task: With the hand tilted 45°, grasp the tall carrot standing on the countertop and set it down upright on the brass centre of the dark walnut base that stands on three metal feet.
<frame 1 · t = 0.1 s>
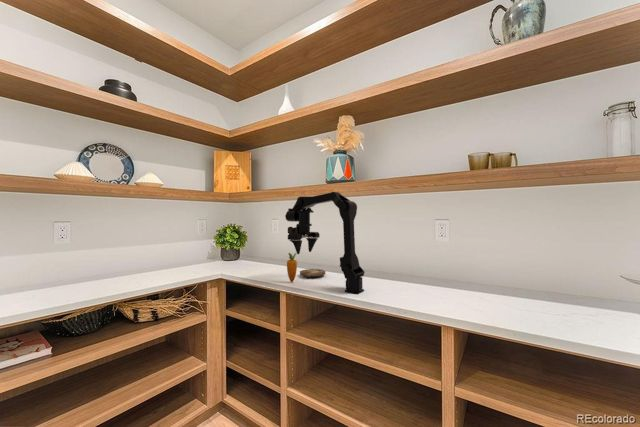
hand: (304, 253, 133), 15 cm above the worktop, tool pointing down, fingers open, 9 cm apart
carrot: (291, 283, 133), on the worktop
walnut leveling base: (312, 276, 147), on the worktop
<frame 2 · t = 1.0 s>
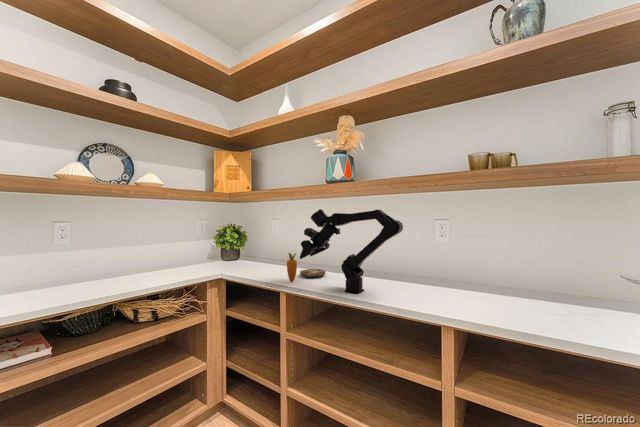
hand: (305, 256, 129), 13 cm above the worktop, tool tilted 45°, fingers open, 9 cm apart
nothing on the worktop moved.
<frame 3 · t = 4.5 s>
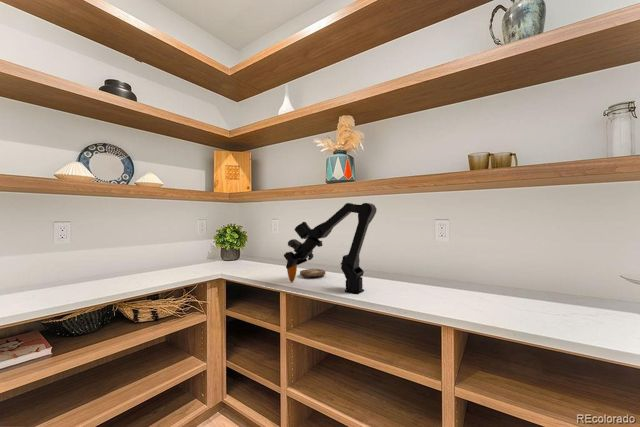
hand: (289, 267, 134), 8 cm above the worktop, tool tilted 45°, fingers closed on carrot, 5 cm apart
carrot: (291, 283, 133), on the worktop, touching gripper
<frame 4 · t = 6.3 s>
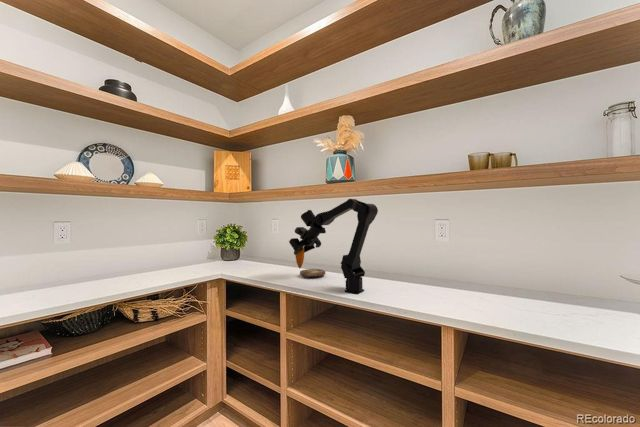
hand: (297, 253, 140), 13 cm above the worktop, tool tilted 45°, fingers closed on carrot, 5 cm apart
carrot: (299, 268, 139), point 6 cm above the worktop, touching gripper
when the fingers open (11 cm above the worktop, at t = 8.2 s): carrot stays where it is, resting on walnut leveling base.
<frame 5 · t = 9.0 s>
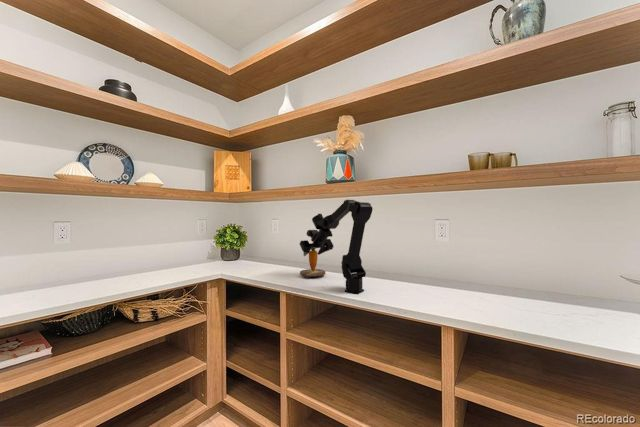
hand: (311, 254, 148), 12 cm above the worktop, tool tilted 45°, fingers open, 9 cm apart
carrot: (313, 271, 146), point 3 cm above the worktop, touching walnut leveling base
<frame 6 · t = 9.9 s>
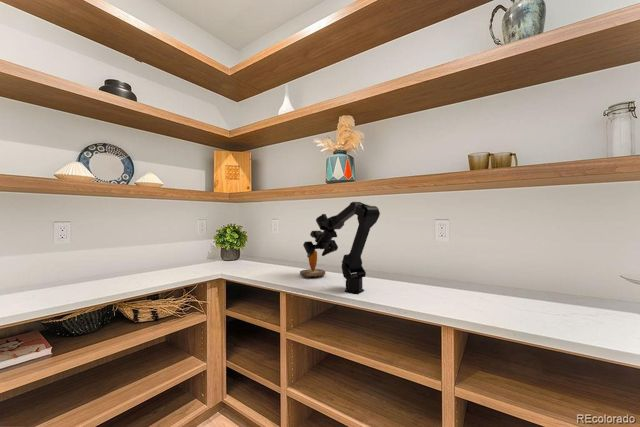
hand: (315, 256, 144), 11 cm above the worktop, tool tilted 45°, fingers open, 9 cm apart
nothing on the worktop moved.
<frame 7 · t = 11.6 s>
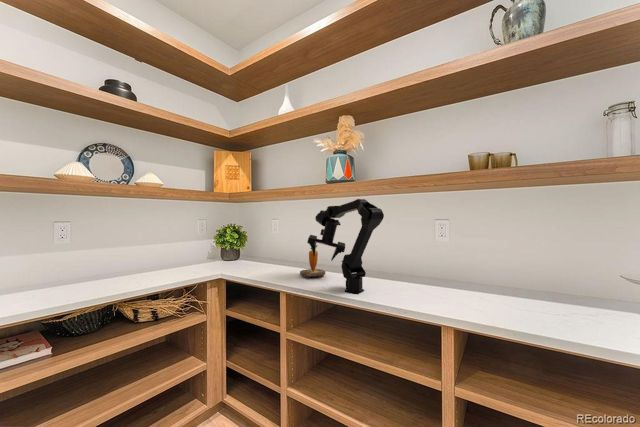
hand: (322, 258, 136), 12 cm above the worktop, tool tilted 20°, fingers open, 9 cm apart
nothing on the worktop moved.
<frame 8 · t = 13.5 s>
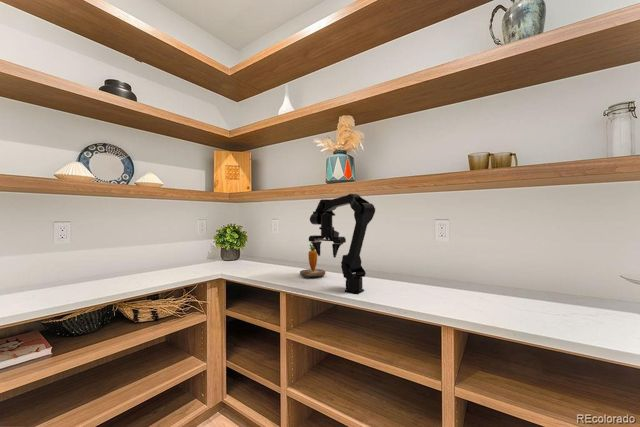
hand: (326, 256, 131), 13 cm above the worktop, tool pointing down, fingers open, 9 cm apart
nothing on the worktop moved.
at the end: carrot inside the target area on the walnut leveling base (0.2 cm from its centre), point 2.5 cm above the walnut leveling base's base; carrot tilted 0°; the gripper is holding nothing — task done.
